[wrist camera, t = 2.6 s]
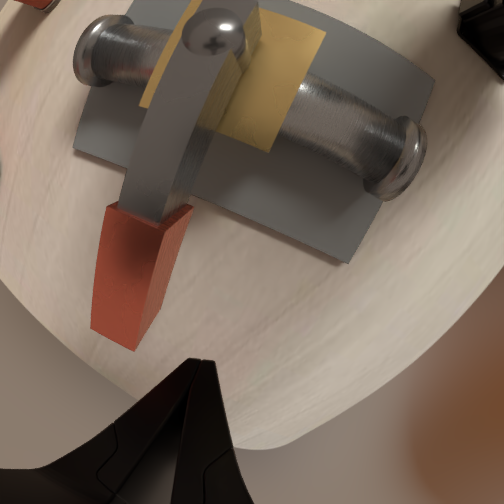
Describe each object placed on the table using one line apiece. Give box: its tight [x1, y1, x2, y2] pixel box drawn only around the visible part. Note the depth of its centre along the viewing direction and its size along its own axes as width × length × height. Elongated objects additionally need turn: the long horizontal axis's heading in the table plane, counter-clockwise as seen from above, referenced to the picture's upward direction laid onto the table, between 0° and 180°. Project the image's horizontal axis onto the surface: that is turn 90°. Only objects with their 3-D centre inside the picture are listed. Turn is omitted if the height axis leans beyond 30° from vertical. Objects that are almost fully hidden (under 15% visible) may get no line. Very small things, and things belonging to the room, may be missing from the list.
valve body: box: [73, 0, 427, 201], centre depth 12 cm, size 20×6×7 cm, turn 66°
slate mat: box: [73, 0, 435, 264], centre depth 15 cm, size 22×15×1 cm
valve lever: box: [90, 0, 262, 352], centre depth 9 cm, size 13×2×3 cm, turn 157°
